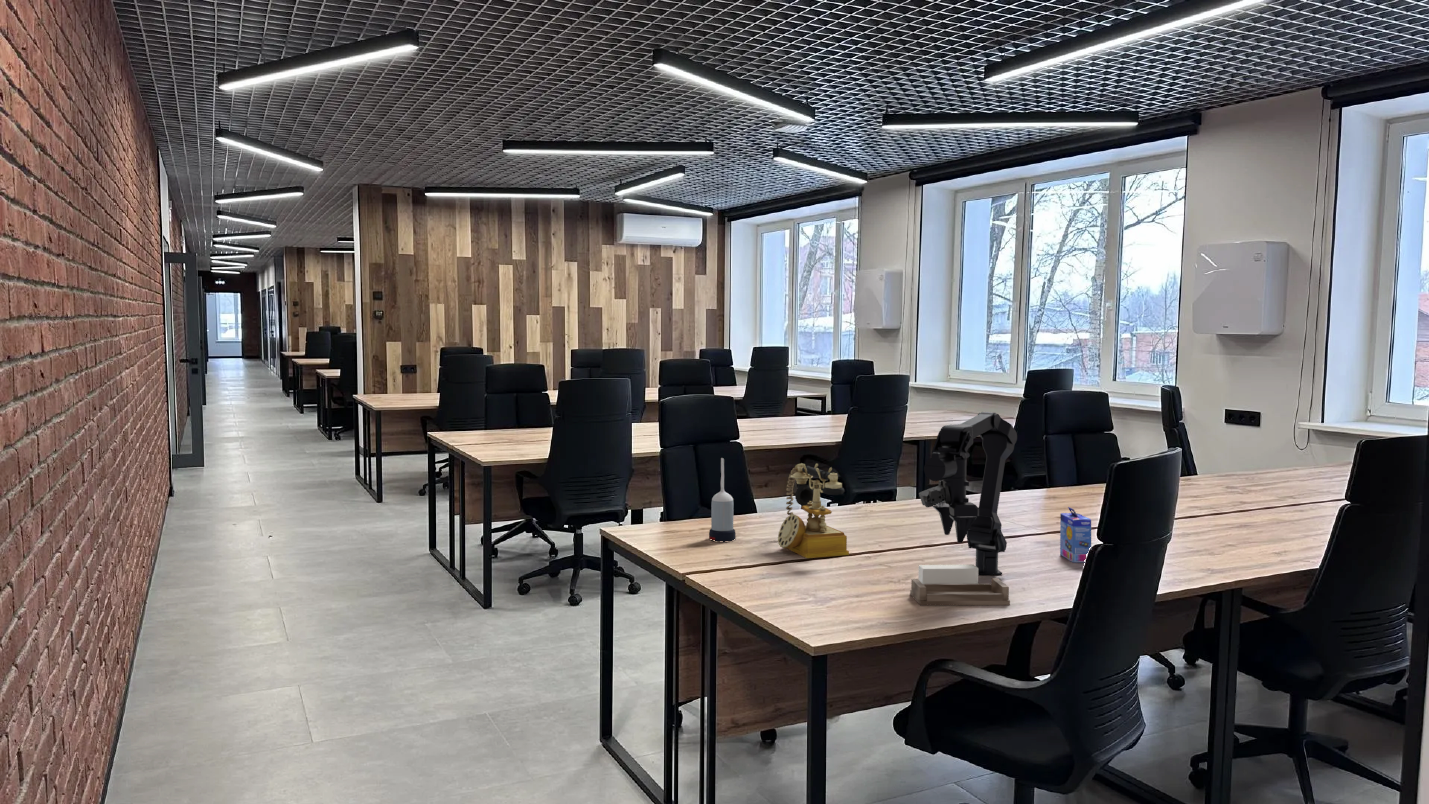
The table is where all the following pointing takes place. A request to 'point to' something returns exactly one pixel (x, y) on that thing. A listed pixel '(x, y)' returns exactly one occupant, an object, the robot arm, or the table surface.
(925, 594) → the tray
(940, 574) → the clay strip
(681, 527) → the table surface
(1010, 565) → the table surface
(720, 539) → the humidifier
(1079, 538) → the ink cartridge box
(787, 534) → the rotary telephone
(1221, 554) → the table surface
